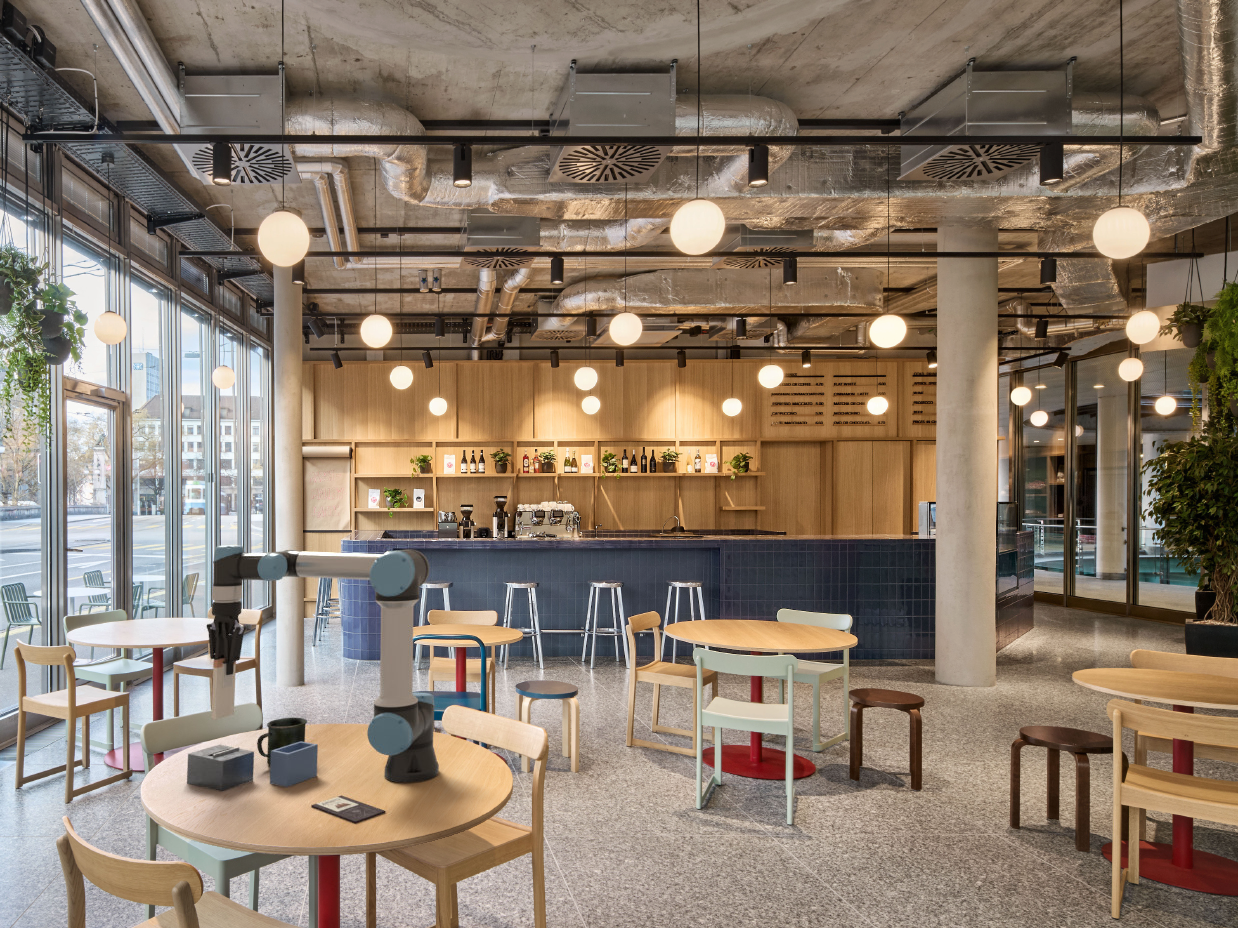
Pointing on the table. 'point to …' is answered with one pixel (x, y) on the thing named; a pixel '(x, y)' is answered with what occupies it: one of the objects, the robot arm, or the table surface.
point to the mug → (282, 734)
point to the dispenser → (220, 767)
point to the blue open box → (293, 763)
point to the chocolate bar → (348, 809)
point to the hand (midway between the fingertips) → (223, 685)
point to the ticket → (222, 692)
